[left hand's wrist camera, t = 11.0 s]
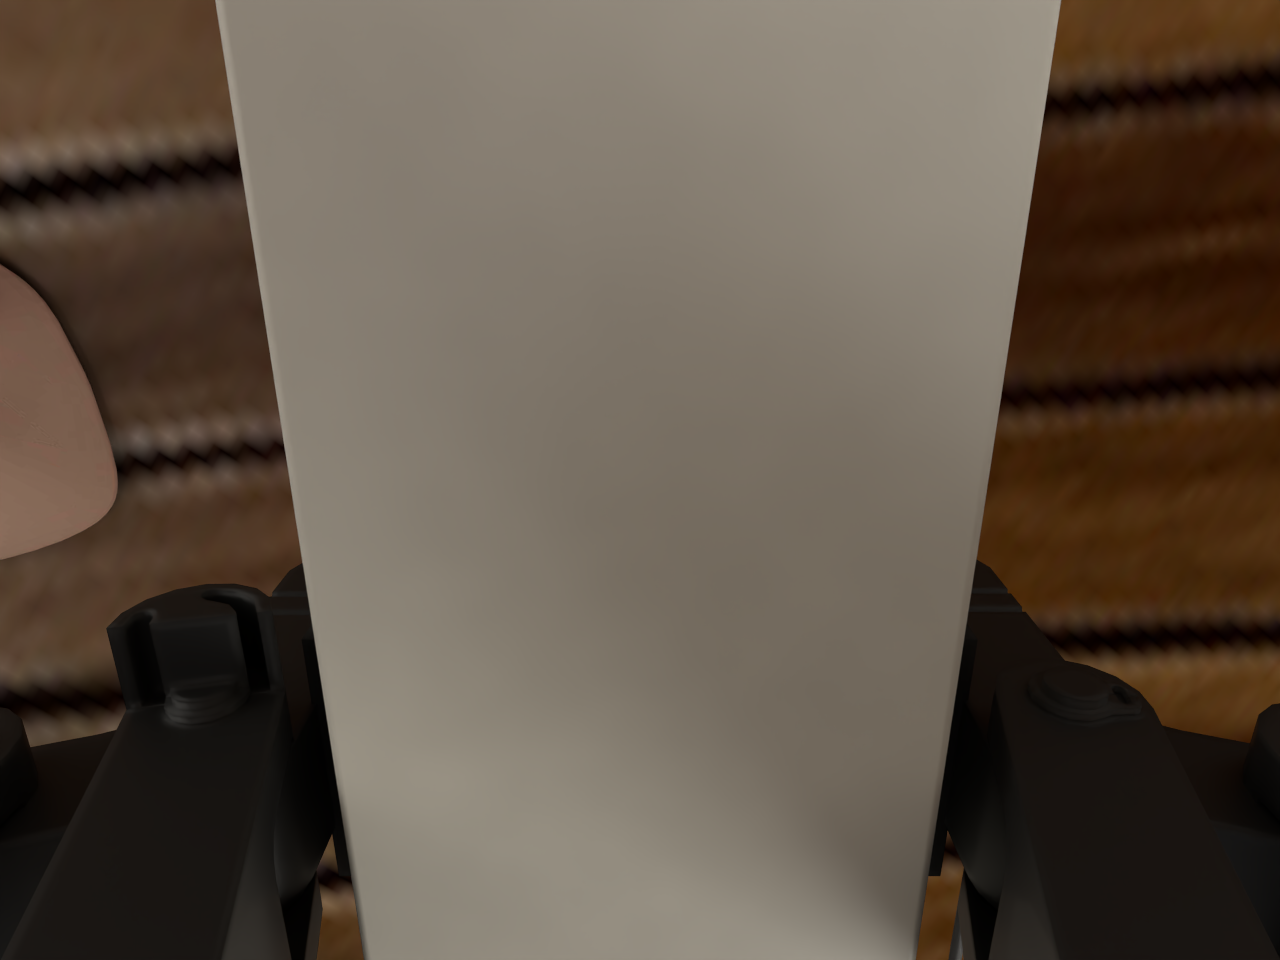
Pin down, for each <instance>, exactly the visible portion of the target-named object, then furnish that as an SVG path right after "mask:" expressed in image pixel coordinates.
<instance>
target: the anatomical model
mask: <svg viewBox="0 0 1280 960" xmlns="http://www.w3.org/2000/svg"><path fill="white" fill-rule="evenodd" d="M117 487H118V480H117V469H116V465H115V461H114V456H113V452H112V448H111V444H110V441H109V438H108V435H107V432H106V429H105V426H104V423H103V420H102V417H101V414H100V412H99V409H98V406H97V403H96V400H95V397H94V394H93V391H92V388H91V386H90V383H89V381H88V379H87V377H86V374H85V372H84V370H83V368H82V366H81V364H80V362H79V360H78V358H77V356H76V354H75V352H74V350H73V348H72V346H71V344H70V343H69V341H68V339H67V337H66V335H65V333H64V331H63V329H62V327H61V325H60V323H59V321H58V320H57V318H56V317H55V315H54V314H53V312H52V311H51V309H50V308H49V307H48V305H47V304H46V302H45V301H44V300H43V299H42V298H41V297H40V296H39V294H38V293H37V292H36V291H35V290H34V289H33V288H32V287H31V286H30V285H29V284H27V283H26V282H25V281H24V280H23V279H21V278H20V277H19V276H17V275H16V274H14V273H13V272H11V271H10V270H8V269H7V268H5V267H4V266H2V265H1V264H0V560H2V559H6V558H9V557H13V556H17V555H20V554H24V553H27V552H31V551H34V550H37V549H40V548H43V547H46V546H48V545H51V544H54V543H57V542H60V541H62V540H65V539H67V538H69V537H71V536H73V535H75V534H77V533H80V532H82V531H84V530H85V529H87V528H89V527H90V526H92V525H94V524H95V523H97V522H98V521H99V520H100V519H101V518H102V517H104V516H105V515H106V514H107V512H108V511H109V510H110V508H111V507H112V505H113V503H114V501H115V499H116V495H117Z"/></svg>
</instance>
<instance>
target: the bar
mask: <svg viewBox="0 0 1280 960" xmlns="http://www.w3.org/2000/svg"><path fill="white" fill-rule="evenodd" d="M215 1H216V8H217V14H218V21H219V27H220V34H221V40H222V46H223V53H224V59H225V66H226V72H227V79H228V85H229V92H230V98H231V104H232V111H233V117H234V124H235V130H236V137H237V143H238V150H239V156H240V162H241V169H242V175H243V182H244V188H245V195H246V201H247V207H248V214H249V220H250V227H251V233H252V240H253V246H254V253H255V259H256V265H257V272H258V278H259V285H260V291H261V298H262V304H263V311H264V317H265V323H266V330H267V336H268V343H269V349H270V356H271V362H272V369H273V375H274V381H275V388H276V394H277V401H278V407H279V414H280V420H281V427H282V433H283V439H284V446H285V452H286V459H287V465H288V472H289V478H290V485H291V491H292V497H293V504H294V510H295V517H296V523H297V530H298V536H299V542H300V549H301V555H302V562H303V568H304V575H305V581H306V588H307V594H308V600H309V607H310V613H311V620H312V626H313V633H314V639H315V646H316V652H317V658H318V665H319V671H320V678H321V684H322V691H323V697H324V704H325V710H326V716H327V723H328V729H329V736H330V742H331V749H332V755H333V762H334V768H335V774H336V781H337V787H338V794H339V800H340V807H341V813H342V819H343V826H344V832H345V839H346V845H347V852H348V858H349V865H350V871H351V877H352V884H353V890H354V897H355V903H356V910H357V916H358V923H359V929H360V935H361V942H362V948H363V955H364V960H916V953H917V946H918V940H919V933H920V927H921V920H922V914H923V907H924V900H925V894H926V887H927V881H928V874H929V867H930V861H931V854H932V848H933V841H934V834H935V828H936V821H937V815H938V808H939V801H940V795H941V788H942V782H943V775H944V768H945V762H946V755H947V749H948V742H949V736H950V729H951V722H952V716H953V709H954V703H955V696H956V689H957V683H958V676H959V670H960V663H961V656H962V650H963V643H964V637H965V630H966V623H967V617H968V610H969V604H970V597H971V591H972V584H973V577H974V571H975V564H976V558H977V551H978V544H979V538H980V531H981V525H982V518H983V511H984V505H985V498H986V492H987V485H988V478H989V472H990V465H991V459H992V452H993V445H994V439H995V432H996V426H997V419H998V413H999V406H1000V399H1001V393H1002V386H1003V380H1004V373H1005V366H1006V360H1007V353H1008V347H1009V340H1010V333H1011V327H1012V320H1013V314H1014V307H1015V300H1016V294H1017V287H1018V281H1019V274H1020V268H1021V261H1022V254H1023V248H1024V241H1025V235H1026V228H1027V221H1028V215H1029V208H1030V202H1031V195H1032V188H1033V182H1034V175H1035V169H1036V162H1037V155H1038V149H1039V142H1040V136H1041V129H1042V122H1043V116H1044V109H1045V103H1046V96H1047V90H1048V83H1049V76H1050V70H1051V63H1052V57H1053V50H1054V43H1055V37H1056V30H1057V24H1058V17H1059V10H1060V4H1061V0H215Z"/></svg>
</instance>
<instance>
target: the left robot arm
mask: <svg viewBox="0 0 1280 960" xmlns="http://www.w3.org/2000/svg"><path fill="white" fill-rule="evenodd" d="M106 629H107V633H108V637H109V641H110V645H111V649H112V653H113V657H114V661H115V665H116V669H117V673H118V677H119V681H120V685H121V689H122V693H123V697H124V701H125V705H126V709H127V710H126V712H125V714H124V716H123V718H122V720H121V722H120V724H119V726H118V728H117V730H114V731H110V732H106V733H102V734H98V735H93V736H88V737H83V738H77V739H72V740H67V741H62V742H56V743H51V744H46V745H41V746H35V747H30V745H29V742H28V738H27V735H26V732H25V729H24V725H23V722H22V719H21V718H20V717H18V716H17V715H16V714H14V713H13V712H12V711H10V710H9V709H6V708H0V960H316V959H317V951H318V943H319V934H320V926H321V918H322V910H323V908H322V902H321V895H320V889H319V883H318V877H317V871H316V869H317V867H318V865H319V862H320V860H321V858H322V855H323V853H324V851H325V849H326V846H327V844H328V842H329V839H330V837H331V835H333V841H334V847H335V854H336V860H337V866H338V872H339V876H351V871H350V865H349V858H348V852H347V845H346V839H345V832H344V826H343V819H342V813H341V807H340V800H339V794H338V787H337V781H336V774H335V768H334V762H333V755H332V749H331V742H330V736H329V729H328V723H327V716H326V710H325V704H324V697H323V691H322V684H321V678H320V671H319V665H318V658H317V652H316V646H315V639H314V633H313V626H312V620H311V613H310V607H309V600H308V594H307V588H306V581H305V575H304V568H303V563H302V564H300V565H298V566H297V567H295V568H293V569H292V570H290V571H289V572H288V573H287V575H286V576H285V577H284V578H283V580H282V581H281V582H280V583H279V585H278V586H277V587H276V588H275V590H274V591H273V592H272V597H268V596H267V595H265V594H264V593H263V592H261V591H260V590H258V589H257V588H253V587H248V586H243V585H238V584H205V585H199V586H194V587H188V588H182V589H177V590H173V591H170V592H167V593H164V594H161V595H159V596H156V597H153V598H150V599H147V600H145V601H143V602H141V603H139V604H137V605H136V606H134V607H132V608H130V609H128V610H126V611H125V612H123V613H121V614H120V615H119V616H118V617H117V618H116V619H115V620H114V621H113V622H112V623H111V624H110V625H109V626H108V627H107V628H106ZM947 830H948V832H949V834H950V836H951V839H952V841H953V843H954V845H955V848H956V850H957V852H958V855H959V857H960V859H961V861H962V864H963V866H964V871H963V877H962V883H961V889H960V894H959V900H958V906H957V912H956V918H955V924H954V930H953V935H952V941H951V947H950V954H949V960H961V959H962V954H963V957H964V960H1280V704H1273V705H1271V706H1270V707H1268V708H1267V709H1266V710H1264V711H1263V712H1262V713H1260V714H1259V716H1258V719H1257V722H1256V726H1255V729H1254V732H1253V736H1252V739H1251V742H1250V743H1245V742H1240V741H1234V740H1229V739H1224V738H1219V737H1213V736H1208V735H1203V734H1197V733H1192V732H1187V731H1182V730H1178V729H1174V728H1170V727H1166V726H1162V724H1161V722H1160V721H1159V719H1158V717H1157V715H1156V713H1155V711H1154V709H1153V708H1152V706H1151V705H1150V704H1149V703H1148V702H1147V700H1146V699H1145V698H1144V697H1143V696H1142V694H1141V693H1140V692H1139V691H1137V690H1136V689H1134V688H1133V687H1131V686H1130V685H1128V684H1127V683H1125V682H1124V681H1122V680H1120V679H1119V678H1117V677H1116V676H1113V675H1111V674H1108V673H1106V672H1103V671H1101V670H1098V669H1096V668H1093V667H1090V666H1088V665H1083V664H1079V663H1074V662H1069V661H1065V660H1064V659H1063V658H1062V657H1061V655H1060V654H1059V653H1058V652H1057V650H1056V649H1055V648H1054V647H1053V645H1052V644H1051V643H1050V642H1049V640H1048V639H1047V638H1046V637H1045V635H1044V634H1043V633H1042V632H1041V630H1040V629H1039V628H1038V627H1037V625H1036V624H1035V623H1034V622H1033V620H1032V619H1031V618H1030V617H1029V616H1028V614H1027V613H1026V612H1022V607H1021V606H1020V604H1019V603H1018V602H1017V601H1016V599H1015V598H1014V597H1013V596H1012V594H1008V592H1007V588H1006V587H1005V586H1004V584H1003V583H1002V582H1001V581H1000V579H999V578H998V577H997V576H996V574H995V573H994V572H993V571H992V569H991V568H990V567H988V566H986V565H985V564H983V563H981V562H980V561H978V560H976V564H975V571H974V577H973V584H972V591H971V597H970V604H969V610H968V617H967V623H966V630H965V637H964V643H963V650H962V656H961V663H960V670H959V676H958V683H957V689H956V696H955V703H954V709H953V716H952V722H951V729H950V736H949V742H948V749H947V755H946V762H945V768H944V775H943V782H942V788H941V795H940V801H939V808H938V815H937V821H936V828H935V834H934V841H933V848H932V854H931V861H930V867H929V874H928V876H940V875H941V868H942V862H943V856H944V849H945V843H946V837H947Z"/></svg>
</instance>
